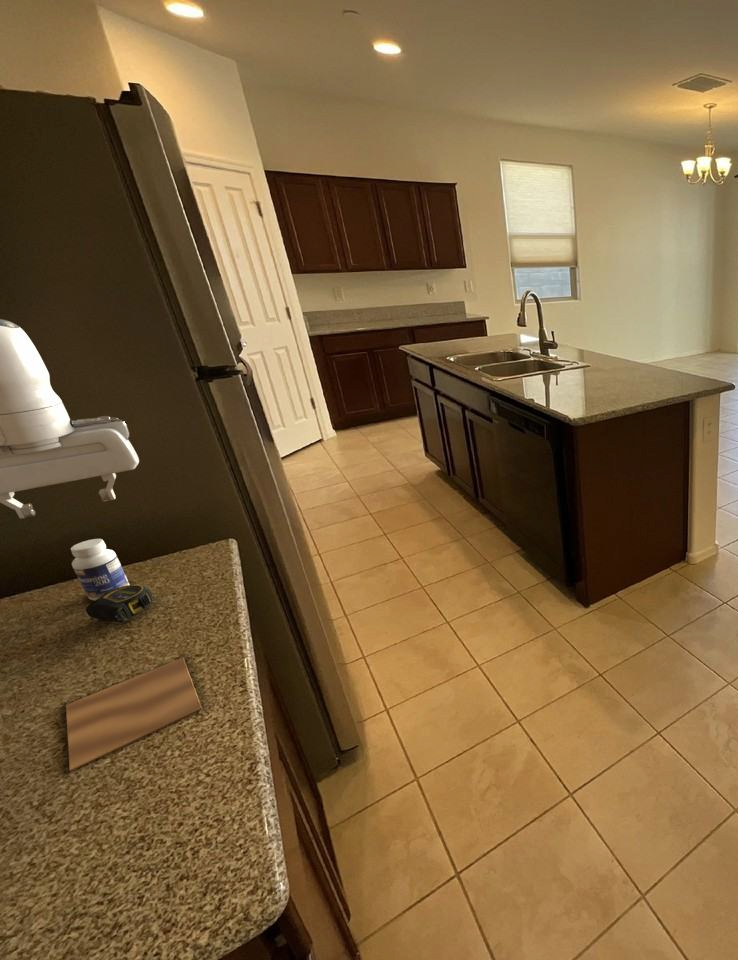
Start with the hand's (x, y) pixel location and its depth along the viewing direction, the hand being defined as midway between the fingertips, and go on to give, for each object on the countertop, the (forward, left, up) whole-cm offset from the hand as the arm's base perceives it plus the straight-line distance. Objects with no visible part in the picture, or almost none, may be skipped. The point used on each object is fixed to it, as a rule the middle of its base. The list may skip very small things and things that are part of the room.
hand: (70, 507), depth 85 cm
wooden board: (+17, -33, -17) cm, 41 cm away
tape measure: (+6, -9, -17) cm, 20 cm away
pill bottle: (-1, +1, -17) cm, 17 cm away
